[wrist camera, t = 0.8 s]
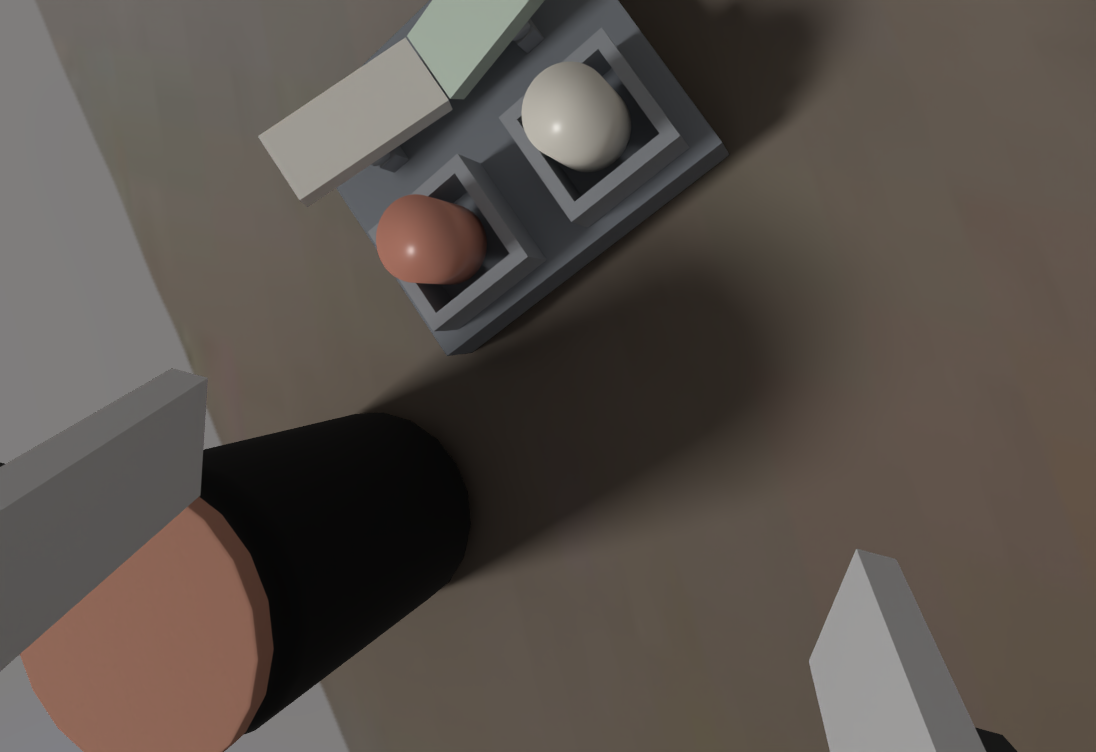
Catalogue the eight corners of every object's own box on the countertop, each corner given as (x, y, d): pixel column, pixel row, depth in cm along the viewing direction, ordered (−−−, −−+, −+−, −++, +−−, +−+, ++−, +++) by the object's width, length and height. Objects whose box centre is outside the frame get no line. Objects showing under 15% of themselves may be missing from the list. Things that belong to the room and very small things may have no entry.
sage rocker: (589, -40, 33) (567, -48, 31) (474, 99, 37) (450, 98, 36) (540, -107, 33) (515, -118, 32) (432, 39, 38) (406, 36, 36)
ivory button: (648, 134, 33) (630, 116, 30) (579, 189, 34) (555, 177, 31) (599, 66, 34) (576, 41, 30) (532, 123, 35) (504, 104, 32)
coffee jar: (340, 378, 45) (48, 422, 28) (507, 459, 42) (298, 563, 25) (284, 547, 47) (-19, 685, 30) (441, 634, 44) (206, 841, 27)
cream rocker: (455, 116, 38) (448, 100, 36) (313, 212, 38) (299, 200, 36) (414, 57, 38) (405, 37, 36) (273, 151, 38) (257, 136, 36)
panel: (729, 155, 37) (715, 129, 32) (472, 352, 42) (422, 359, 37) (560, -77, 39) (519, -137, 33) (330, 140, 44) (263, 117, 38)
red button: (501, 252, 36) (470, 247, 32) (442, 300, 37) (406, 300, 34) (457, 187, 36) (422, 176, 33) (400, 236, 37) (360, 230, 34)
